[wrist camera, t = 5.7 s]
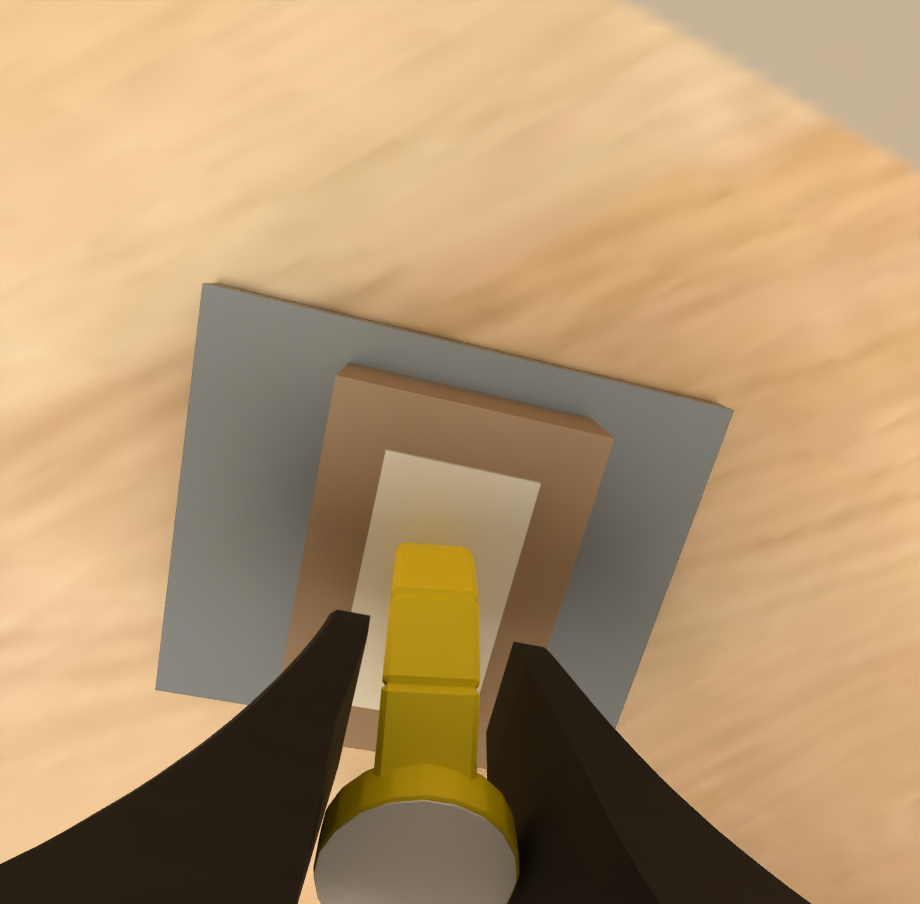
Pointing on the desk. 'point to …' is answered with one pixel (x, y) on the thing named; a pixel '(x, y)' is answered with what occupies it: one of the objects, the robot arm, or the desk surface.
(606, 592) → the base board
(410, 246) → the desk surface
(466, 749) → the watch
